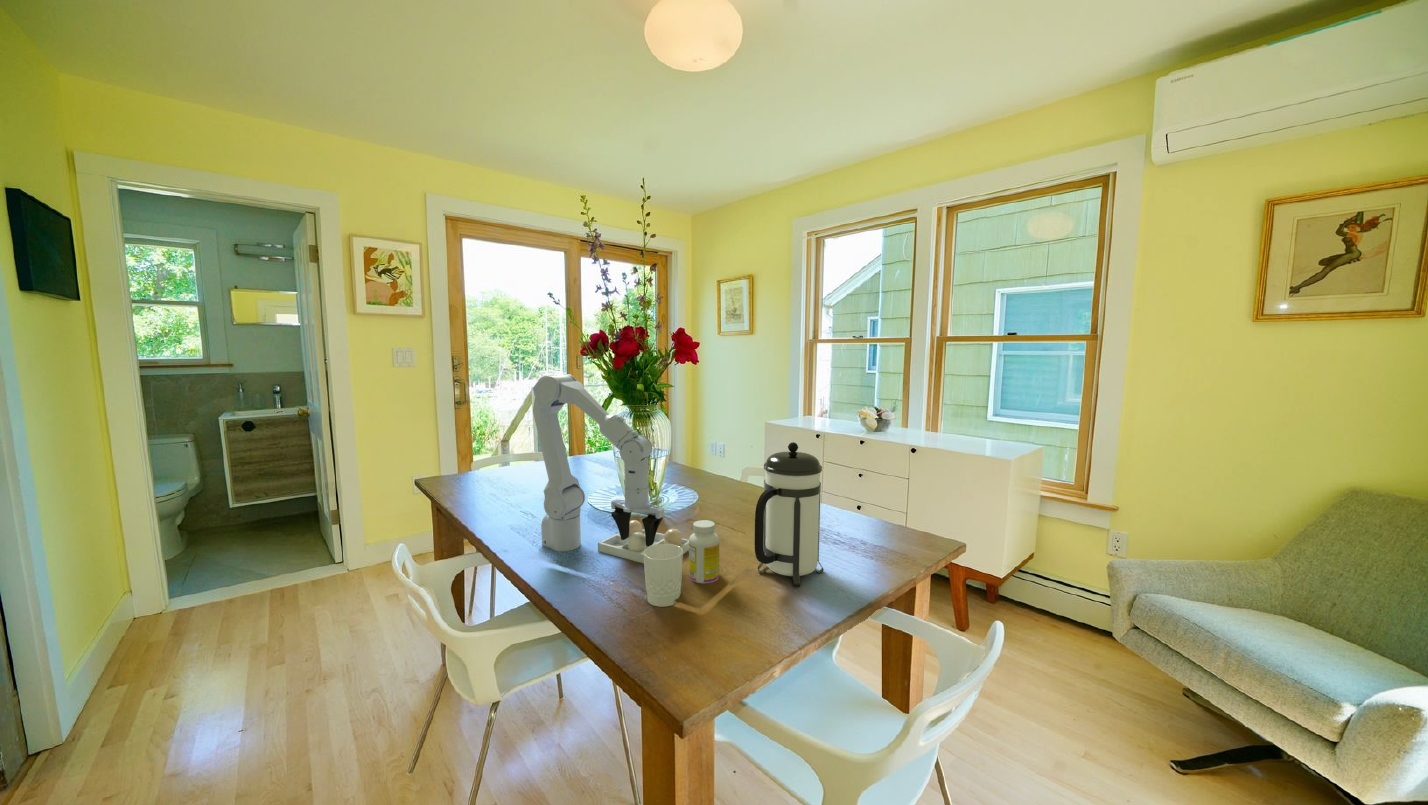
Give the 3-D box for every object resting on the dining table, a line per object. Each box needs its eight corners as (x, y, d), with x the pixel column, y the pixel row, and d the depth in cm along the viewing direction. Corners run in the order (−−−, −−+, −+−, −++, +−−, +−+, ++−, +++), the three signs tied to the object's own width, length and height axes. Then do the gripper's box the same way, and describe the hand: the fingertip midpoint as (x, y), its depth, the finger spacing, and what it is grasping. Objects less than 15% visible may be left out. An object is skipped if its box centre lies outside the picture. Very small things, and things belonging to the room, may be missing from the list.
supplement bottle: (723, 576, 108) (723, 520, 107) (713, 589, 102) (713, 530, 101) (695, 571, 110) (695, 516, 109) (684, 584, 104) (684, 526, 103)
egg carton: (598, 554, 119) (597, 542, 119) (631, 537, 131) (631, 526, 130) (661, 572, 110) (661, 559, 110) (692, 552, 121) (692, 540, 121)
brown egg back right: (660, 551, 119) (660, 530, 118) (670, 545, 123) (670, 524, 122) (675, 555, 117) (675, 533, 116) (685, 549, 121) (685, 528, 120)
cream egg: (624, 555, 117) (624, 533, 116) (636, 549, 120) (635, 527, 120) (638, 559, 114) (638, 537, 114) (650, 552, 118) (650, 531, 118)
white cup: (677, 610, 93) (676, 561, 92) (638, 606, 95) (637, 557, 94) (687, 591, 101) (687, 545, 100) (651, 587, 103) (651, 542, 102)
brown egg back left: (621, 541, 125) (621, 521, 124) (632, 536, 129) (632, 516, 128) (635, 545, 123) (634, 524, 122) (645, 539, 127) (645, 519, 126)
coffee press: (752, 557, 118) (753, 436, 115) (818, 559, 117) (821, 437, 114) (753, 592, 101) (755, 450, 98) (831, 594, 100) (835, 451, 97)
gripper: (602, 486, 116) (603, 541, 117) (650, 495, 109) (651, 553, 110) (621, 479, 122) (622, 532, 123) (668, 488, 115) (669, 543, 116)
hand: (637, 541), depth 117 cm, fingers open, 7 cm apart
